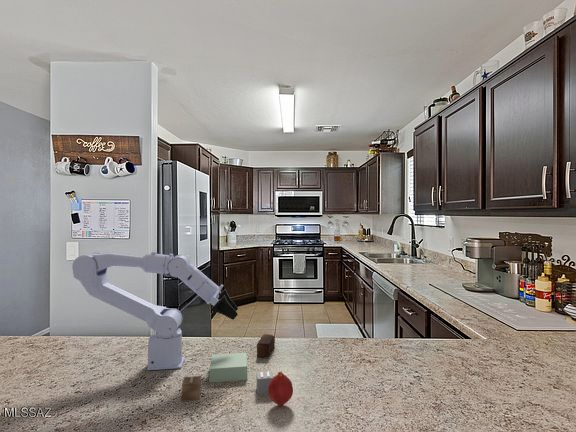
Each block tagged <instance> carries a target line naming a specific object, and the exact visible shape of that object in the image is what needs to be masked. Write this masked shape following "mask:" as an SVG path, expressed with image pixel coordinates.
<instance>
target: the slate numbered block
mask: <svg viewBox="0 0 576 432" xmlns="http://www.w3.org/2000/svg"><path fill="white" fill-rule="evenodd" d="M273 373H274V372H273V370H268V371H266V370H265V371H257V372H256V393H257V396H262V395H269V393H268V386H269V383H270V381H271V380H272V378H273V377H274V374H273Z"/></svg>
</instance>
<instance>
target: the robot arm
mask: <svg viewBox="0 0 576 432" xmlns="http://www.w3.org/2000/svg"><path fill="white" fill-rule="evenodd" d="M111 267H125V268H126V267H128V268H129V267H131V268H141V269H142V270H143V272H145V273H148V274H149V273H151V274H160V275H168V274H169V275H170V276H171V277H174V278H178V279H179V280H180V281H182V283H184V285H186V286H187V287H188V288H189V289H190V290H191V291H193V292H194V293H195V294H197V296H199V297H200V298H201V299H202V300H203V301H205V303H206V304H207V305H212V307H211V308H210V311H211V312H212V313H217V314H221V315H223V316H225V317H227V318H229V319H230V320H232V321H233V320H235V319H236V317H237V316H238V315H239V313H238V312H237V310H239V308H238V306H237V305H236V304H235V302H234V301H233V300H232V298H231V297H230V295H229V293H228V291H227V289H226V288H225V289H224V290H223V291H221V290H222V288H223V287H224V284H220V285H218V284H216V283H215V282H214V281H213V280H212V279H210V278H209V277H208V276H207V275H205V274H204V273H203V271H201V270H200V269H198V268H197V267H195V265H193V264H192V263H191V262H190V260H189V258H188V257H186V256H185V255H181V254H177V255H174V253H169V254H161V253H158V251H152V252H148V253H146V254H145V255H144V256H141V255H131V254H124V253H119V252H118V253H117V252H93V253H90V254H85V255H84V254H83V255H80V256H78V257H77V256H76V258H74V260H73V263H72V265H71V268H72V275H73V278H74V279H76V280H77V281H79V283H80V284H81V285H82V287H83V288H84V289H85V292H87V293H88V295H89V296H91V297H93V298H95V299H97V300H99V301H102V302H104V303H105V304H108V305H110V306H111V307H115V308H117V309H119V310H121V311H123V312H125V313H127V314H129V315H131V316H133V317H135V318H138V319H140V320H142V321H144V322H146V324H147V326H148V327H149V328H150V329H152V330H154V332H155V334H153V335H152V334H151V335H150V336H149V337H148V343H147V369H146V370H147V371H156V370H157V371H160V370H173V369H182V367H183V364H184V362H185V359H186V356H183V336H182V335H183V332H182V331H183V330H182V329H181V328H180V326H181V324H182V322H183V319H184V318H183V314H182V313H181V311H180V310H179V309H177V308H172V307H171V308H169V307H165V306H162V305H155V304H154V303H152V302H149V301H147V300H145V299H143V298H140V297H139V296H136V295H135V294H132V293H130V292H128V291H126V290H124V289H122V288H120V287H118V286H115V285H113V284H112V283H110V282H108V277H107V276H108V275H107V272H108V268H111Z"/></svg>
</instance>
